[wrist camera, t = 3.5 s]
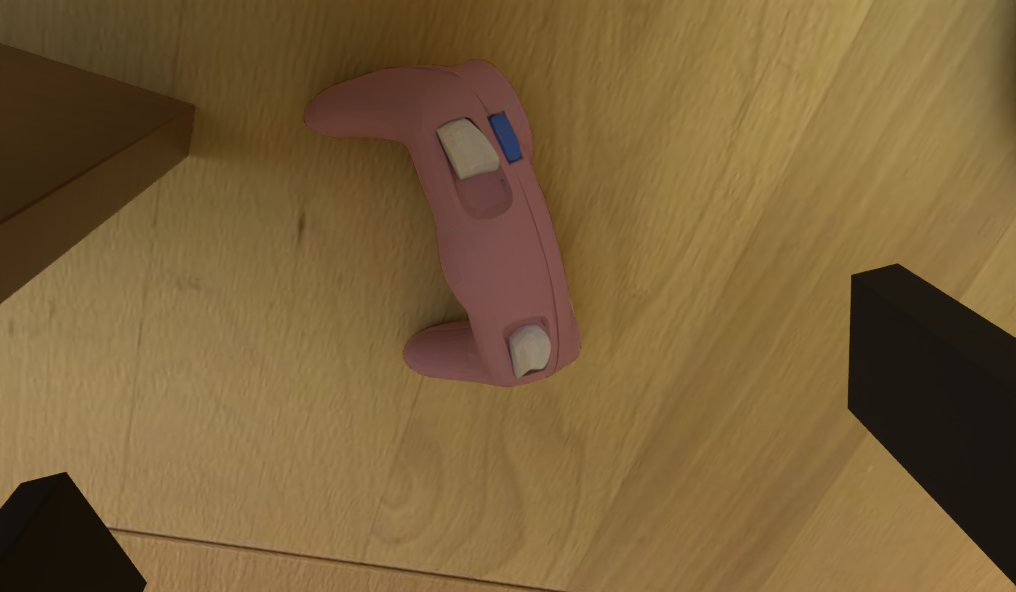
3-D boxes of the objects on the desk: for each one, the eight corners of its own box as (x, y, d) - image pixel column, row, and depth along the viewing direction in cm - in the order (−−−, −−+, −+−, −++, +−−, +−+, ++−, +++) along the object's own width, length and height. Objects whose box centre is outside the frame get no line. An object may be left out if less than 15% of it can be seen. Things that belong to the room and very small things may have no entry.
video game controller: (504, 309, 25) (630, 378, 19) (400, 369, 23) (505, 465, 17) (421, 43, 20) (553, 30, 14) (283, 92, 18) (372, 99, 13)
